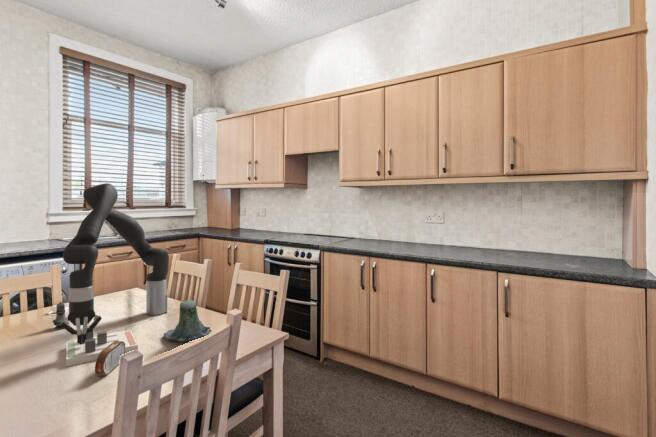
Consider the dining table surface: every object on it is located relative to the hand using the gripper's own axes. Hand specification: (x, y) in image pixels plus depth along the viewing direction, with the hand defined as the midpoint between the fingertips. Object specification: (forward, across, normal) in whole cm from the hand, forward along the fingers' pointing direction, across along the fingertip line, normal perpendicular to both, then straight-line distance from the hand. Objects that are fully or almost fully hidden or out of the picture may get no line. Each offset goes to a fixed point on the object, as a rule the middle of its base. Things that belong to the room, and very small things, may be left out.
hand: (81, 343), depth 129 cm
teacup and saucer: (+4, +6, -61) cm, 61 cm away
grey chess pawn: (+4, +7, -36) cm, 37 cm away
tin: (+4, -8, +20) cm, 21 cm away
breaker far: (+1, -2, -6) cm, 6 cm away
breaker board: (+4, -6, 0) cm, 7 cm away
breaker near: (+1, -2, +6) cm, 7 cm away
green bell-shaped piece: (+4, -37, +5) cm, 38 cm away
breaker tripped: (+1, -6, 0) cm, 6 cm away
